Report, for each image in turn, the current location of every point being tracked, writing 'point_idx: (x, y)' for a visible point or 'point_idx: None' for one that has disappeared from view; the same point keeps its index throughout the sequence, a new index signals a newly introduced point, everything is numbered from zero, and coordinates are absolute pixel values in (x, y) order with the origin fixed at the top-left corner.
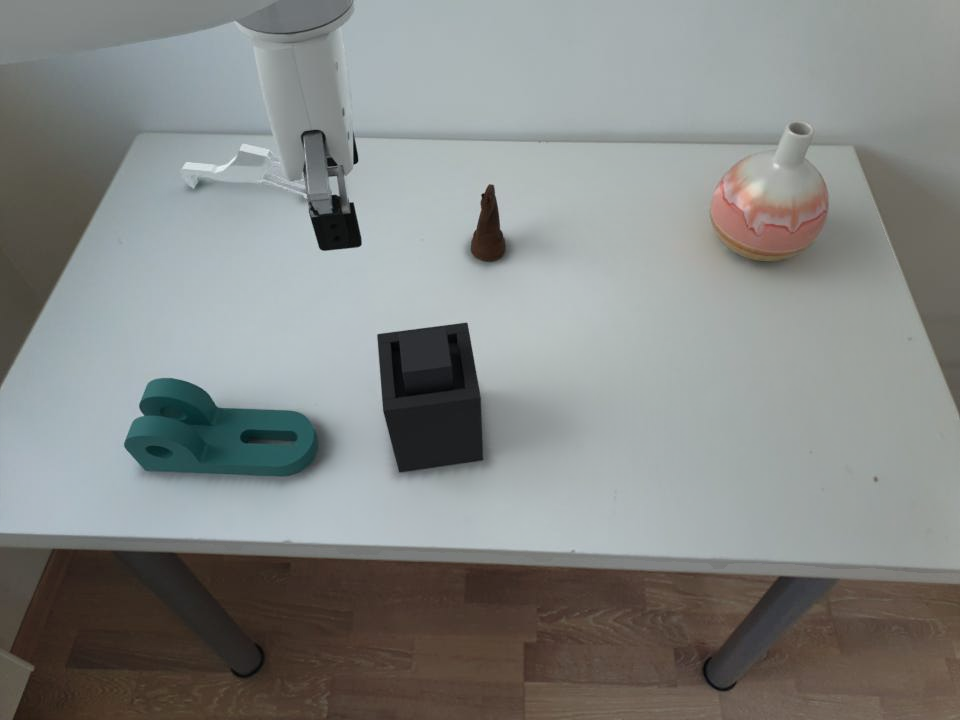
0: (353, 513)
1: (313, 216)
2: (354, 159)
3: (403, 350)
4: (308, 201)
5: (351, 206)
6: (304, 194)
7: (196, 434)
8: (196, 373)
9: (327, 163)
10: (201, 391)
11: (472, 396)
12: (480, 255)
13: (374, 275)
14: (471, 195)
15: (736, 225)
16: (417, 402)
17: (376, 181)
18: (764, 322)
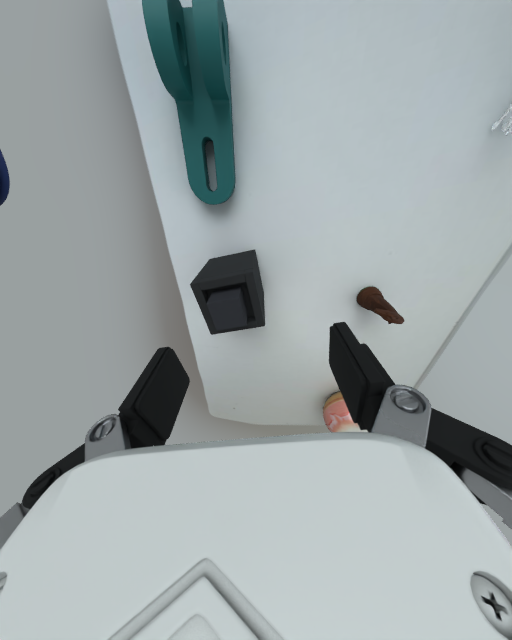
0: (180, 236)
1: (98, 425)
2: (331, 368)
3: (224, 302)
4: (86, 450)
5: (154, 444)
6: (498, 123)
7: (184, 90)
8: (277, 47)
9: (331, 336)
10: (221, 80)
11: (211, 331)
12: (361, 294)
13: (364, 220)
14: (423, 283)
15: (337, 409)
16: (201, 303)
17: (478, 204)
18: (297, 394)
